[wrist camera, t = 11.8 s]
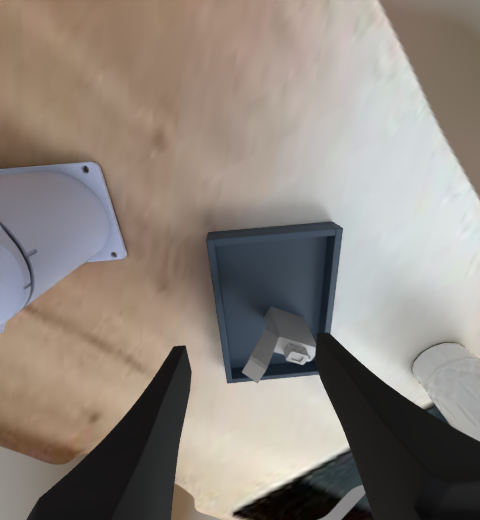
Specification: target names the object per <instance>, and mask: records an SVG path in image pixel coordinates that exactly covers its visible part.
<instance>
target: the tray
mask: <svg viewBox="0 0 480 520" xmlns="http://www.w3.org/2000/svg"><path fill="white" fill-rule="evenodd" d="M342 232H343V228H342V227H340V226H339V225H337V224H335V223H334V222H324V223H313V224H301V225H290V226H278V227H267V228H255V229H244V230H233V231H221V232H210V233H208V236H207V240H206V242H207V248H208V255H209V262H210V269H211V276H212V283H213V290H214V296H215V303H216V310H217V317H218V324H219V331H220V338H221V344H222V351H223V358H224V365H225V372H226V379H227V383H232V382H233V383H237V382H247V381H254V380H252V379H251V378H249V377H248V376H246V375H245V374H244V373H242V371H243V369H244V367H245V365H246V363H247V361H248V359H249V357H250V355H251V353H252V351H253V350H254V348H255V346H256V344H257V342H258V340H259V338H260V337H261V335H262V333H263V332H264V330H265V329H266V325H265V321H264V316H265V315H266V313H267V311H268V310H269V308H270V307H274V308H277V309H280V310H283V311H286V312H289V313H292V314H295V315H298V316H301V317H304V319H305V321H306V323H307V325H308V328H309V330H310V332H311V334H312V336H313V338H314V340H315V342H316V340H317V333H326V332H328V333H330V331H331V323H332V315H333V306H334V298H335V290H336V281H337V273H338V265H339V256H340V248H341V240H342ZM309 375H319V372H318V369H317V366H316V363H315V356H314V358H313V359H312V360H311V361H309V362H306V363H305V364H303V365H301V364H297V363H294V362H290V361H287V360H286V358H285V355H283V354H280V353H276V352H273V354H272V357H271V360H270V362H269V365H268V367H267V369H266V371H265V373H264V374H263V376H262V377H261V379H260V380H268V379H278V378H288V377H298V376H309Z"/></svg>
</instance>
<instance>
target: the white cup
mask: <svg viewBox="0 0 480 520" xmlns="http://www.w3.org/2000/svg"><path fill="white" fill-rule="evenodd" d="M412 372H413V374H414V376H415V378H416V379H417V380H418V382H419V383H420V384H421V385H422V387H423V388H424V389H425V390H426V392H427V393H428V395H429V397H430V398H431V400H432V401H433V402H434V404H435V405H436V406H437V407H438V409H439V410H440V412H441V413H442V414H443V416H444V417H445V418H446V420H447V421H448V422H449V424H450V425H451V426H452V427H454V428H456V429H457V430H459V431H461V432H463V433H465V434H466V435H468V436H470V437H472V438H474V439H476V440H478V441H480V359H479V358H478V357H477V356H475V355H474V354H473V353H471V352H470V351H469V350H467V349H466V348H465V347H463V346H461V345H459V344H458V343H443V344H440V345H436V346H433V347H431V348H429V349H428V350H426V351H424V352H423V353H421V354H420V356H419V357H418V358H417V359H416V360H415V361H414V364H413V368H412Z"/></svg>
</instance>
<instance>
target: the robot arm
mask: <svg viewBox="0 0 480 520" xmlns="http://www.w3.org/2000/svg"><path fill="white" fill-rule="evenodd" d="M85 166H86V167H88V169H89V172H88V173H87V172H86V171H85V170H84V167H85ZM113 252H115V253H116V254H117V256H115V255H114V254H113ZM126 256H127V251H126V248H125V245H124V242H123V238H122V235H121V232H120V229H119V225H118V222H117V219H116V216H115V212H114V209H113V206H112V203H111V200H110V196H109V193H108V190H107V187H106V183H105V180H104V177H103V174H102V171H101V168H100V166H99V165H98V164H97V163H96V162H79V163H67V164H55V165H43V166H31V167H19V168H6V169H0V334H1V333H2V332H3V331H4V328H5V324H6V322H7V321H8V320H9V319H10V318H12V317H13V316H14V315H16V314H17V313H18V312H19V311H20V310H22V309H23V308H24V307H26V306H27V305H28V304H30V303H31V302H32V301H34V300H35V299H36V298H38V297H39V296H40V295H42V294H43V293H44V292H46V291H47V290H48V289H50V288H51V287H52V286H54V285H55V284H56V283H58V282H59V281H60V280H62V279H63V278H64V277H66V276H67V275H68V274H70V273H71V272H72V271H74V270H75V269H76V268H78V267H79V266H80V265H82V264H83V263H85V262H96V261H107V260H119V259H124V258H125V257H126ZM315 363H316V366H317V369H318V372H319V375H320V378H321V381H322V383H323V385H324V388H325V390H326V392H327V394H328V396H329V399H330V401H331V403H332V405H333V407H334V410H335V412H336V414H337V416H338V418H339V420H340V423H341V425H342V427H343V430H344V432H345V435H346V438H347V440H348V443H349V446H350V449H351V451H352V454H353V457H354V460H355V463H356V466H357V469H358V472H359V475H360V477H361V480H362V483H363V486H364V490H365V492H366V496H367V499H368V502H369V505H370V508H371V511H372V514H373V518H374V520H480V441H478V440H476V439H474V438H472V437H470V436H468V435H466V434H465V433H463V432H461V431H459V430H457V429H456V428H454V427H452V426H450V425H449V424H447V423H445V422H443V421H442V420H440V419H438V418H437V417H435V416H433V415H432V414H430V413H428V412H427V411H425V410H424V409H422V408H421V407H419V406H417V405H416V404H414V403H413V402H411V401H410V400H408V399H407V398H405V397H404V396H402V395H401V394H400V393H398V392H397V391H396V390H394V389H393V388H391V387H390V386H389V385H387V384H386V383H385V382H383V381H382V380H381V379H380V378H378V377H377V376H376V375H375V374H373V373H372V372H371V371H370V370H369V369H367V368H366V367H365V366H364V365H363V364H362V363H361V362H359V361H358V360H357V359H356V358H355V357H354V356H353V355H352V354H351V353H350V352H348V351H347V350H346V349H345V348H344V347H343V346H342V345H341V344H340V343H339V342H338V341H337V340H336V339H335V338H334V337H333V336H332V335H331V334H330V333H328V332H326V333H317V340H316V351H315ZM191 373H192V372H191V367H190V363H189V359H188V354H187V350H186V346H174V347H173V348H172V350H171V352H170V353H169V355H168V357H167V358H166V360H165V361H164V363H163V365H162V366H161V368H160V369H159V371H158V372H157V374H156V375H155V377H154V378H153V380H152V381H151V383H150V384H149V385H148V387H147V388H146V389H145V391H144V392H143V394H142V395H141V396H140V398H139V399H138V400H137V401H136V403H135V404H134V405H133V407H132V408H131V409H130V410H129V411H128V413H127V414H126V415H125V416H124V417H123V418H122V420H121V421H120V422H119V423H118V424H117V425H116V426H115V427H114V428H113V430H112V431H111V432H110V433H109V434H108V435H107V436H106V437H105V438H104V439H103V440H102V441H101V442H100V443H99V444H98V445H97V446H96V447H95V448H94V449H93V450H92V451H91V452H90V453H89V454H88V455H87V456H86V457H85V458H84V459H83V460H82V461H81V462H80V463H79V464H78V465H77V466H76V467H75V468H73V469H72V470H71V471H70V472H69V473H68V474H67V475H66V476H64V477H63V478H62V479H61V480H60V481H59V482H58V483H56V484H55V485H54V486H53V487H52V488H51V489H50V490H48V492H46V493H45V494H44V495H43V496H41V497H40V498H39V500H38V501H37V503H36V505H35V506H34V508H33V509H32V511H31V513H30V514H29V516H28V518H27V520H171V510H172V501H173V491H174V482H175V473H176V465H177V457H178V449H179V443H180V437H181V432H182V428H183V423H184V418H185V413H186V408H187V403H188V398H189V393H190V384H191Z"/></svg>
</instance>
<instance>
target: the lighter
mask: <svg viewBox="0 0 480 520" xmlns="http://www.w3.org/2000/svg"><path fill="white" fill-rule="evenodd" d="M264 321H265V325H266V329H265V330H264V332H263V333H262V335H261V337H260V338H259V340H258V342H257V344H256V346H255V348H254V350H253V351H252V353H251V355H250V357H249V359H248V361H247V363H246V365H245V367H244V369H243V371H242V373H244V374H245V375H246V376H248V377H249V378H251V379H252V380H254V381H255V382H256V383H258V382H259V380H260V379H261V377H262V376H263V374H264V373H265V371H266V369H267V367H268V365H269V362H270V360H271V357H272V354H273V352H276V353H280V354H283V355H285V358H286V360H287V361H290V362H294V363H297V364H301V365H303V364H305V363H306V362H309V361H311V360H312V359H313V358H314V356H315V351H316V342H315V340H314V338H313V336H312V334H311V332H310V330H309V328H308V325H307V323H306V321H305V319H304V317H301V316H298V315H295V314H292V313H289V312H286V311H283V310H280V309H277V308H274V307H270V308H269V310H268V311H267V313H266V315H265V316H264Z"/></svg>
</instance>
